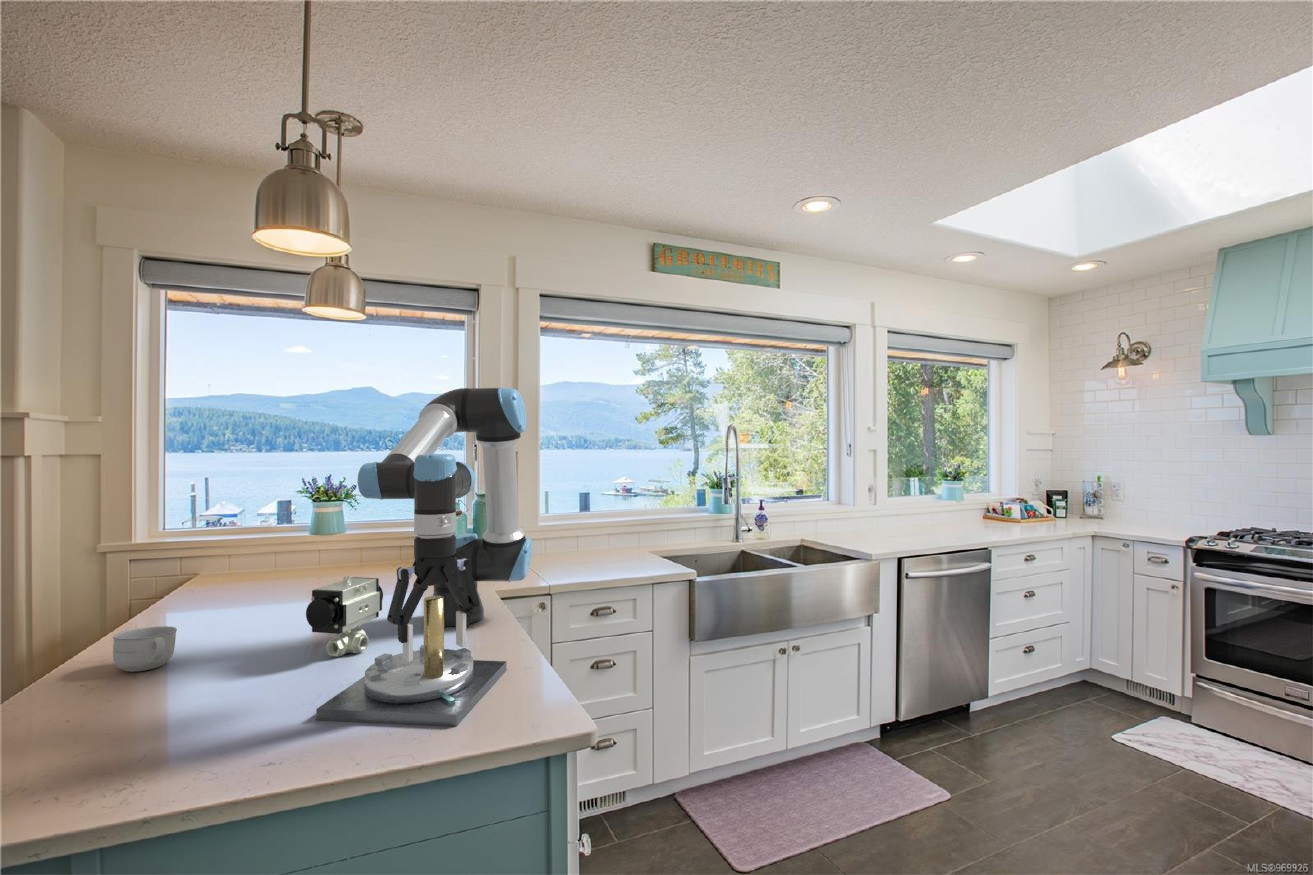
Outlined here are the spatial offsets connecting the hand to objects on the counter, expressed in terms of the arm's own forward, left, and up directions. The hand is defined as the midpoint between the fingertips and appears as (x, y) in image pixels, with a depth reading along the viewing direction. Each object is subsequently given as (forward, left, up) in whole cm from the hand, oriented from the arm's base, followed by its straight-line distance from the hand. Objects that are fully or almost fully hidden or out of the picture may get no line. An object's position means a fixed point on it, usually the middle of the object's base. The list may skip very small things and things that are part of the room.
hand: (435, 652), depth 117 cm
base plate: (-4, -5, -10) cm, 12 cm away
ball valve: (-25, -33, -10) cm, 43 cm away
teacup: (-11, -71, -10) cm, 73 cm away
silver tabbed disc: (-4, -5, -7) cm, 10 cm away
